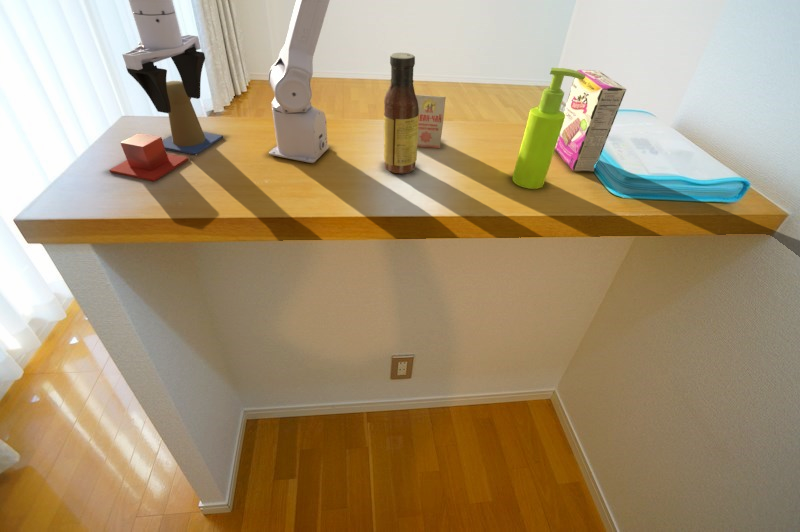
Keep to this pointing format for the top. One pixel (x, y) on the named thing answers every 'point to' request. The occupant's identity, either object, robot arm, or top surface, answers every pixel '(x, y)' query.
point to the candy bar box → (588, 119)
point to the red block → (144, 151)
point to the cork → (183, 117)
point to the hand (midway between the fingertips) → (179, 104)
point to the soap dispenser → (542, 133)
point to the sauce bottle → (401, 116)
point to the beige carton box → (430, 120)
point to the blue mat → (192, 149)
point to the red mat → (150, 175)
